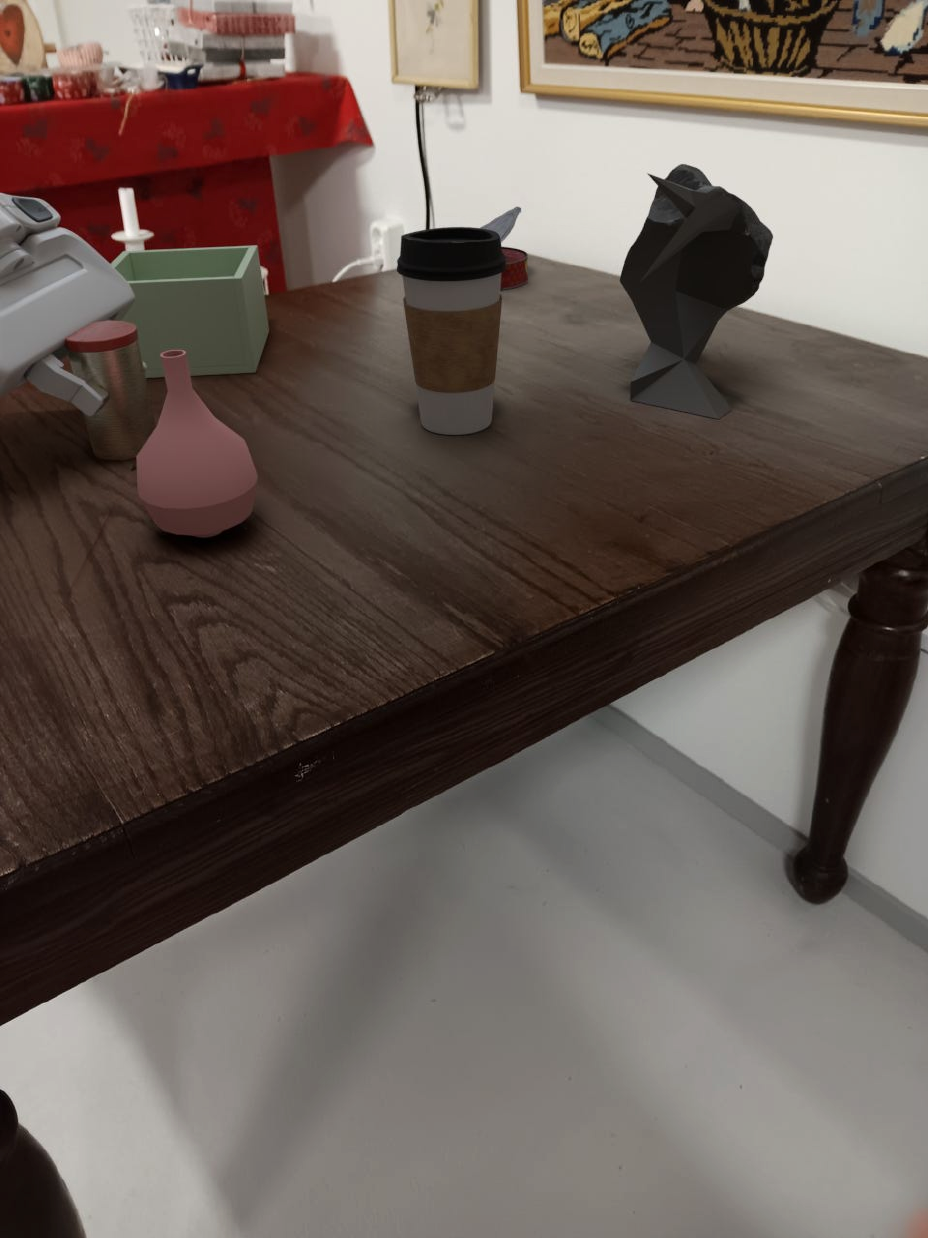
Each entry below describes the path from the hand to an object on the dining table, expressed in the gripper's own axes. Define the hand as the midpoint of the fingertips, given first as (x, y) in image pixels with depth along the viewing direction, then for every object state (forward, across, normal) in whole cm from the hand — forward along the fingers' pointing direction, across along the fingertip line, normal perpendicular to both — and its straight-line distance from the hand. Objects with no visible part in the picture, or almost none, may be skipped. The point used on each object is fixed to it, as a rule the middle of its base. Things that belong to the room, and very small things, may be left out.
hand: (121, 391), depth 72 cm
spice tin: (+3, 0, +4) cm, 5 cm away
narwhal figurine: (+34, +23, -26) cm, 48 cm away
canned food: (+18, +56, -10) cm, 60 cm away
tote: (0, +25, +8) cm, 27 cm away
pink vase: (+11, -11, -3) cm, 16 cm away
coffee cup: (+21, +10, -13) cm, 26 cm away
